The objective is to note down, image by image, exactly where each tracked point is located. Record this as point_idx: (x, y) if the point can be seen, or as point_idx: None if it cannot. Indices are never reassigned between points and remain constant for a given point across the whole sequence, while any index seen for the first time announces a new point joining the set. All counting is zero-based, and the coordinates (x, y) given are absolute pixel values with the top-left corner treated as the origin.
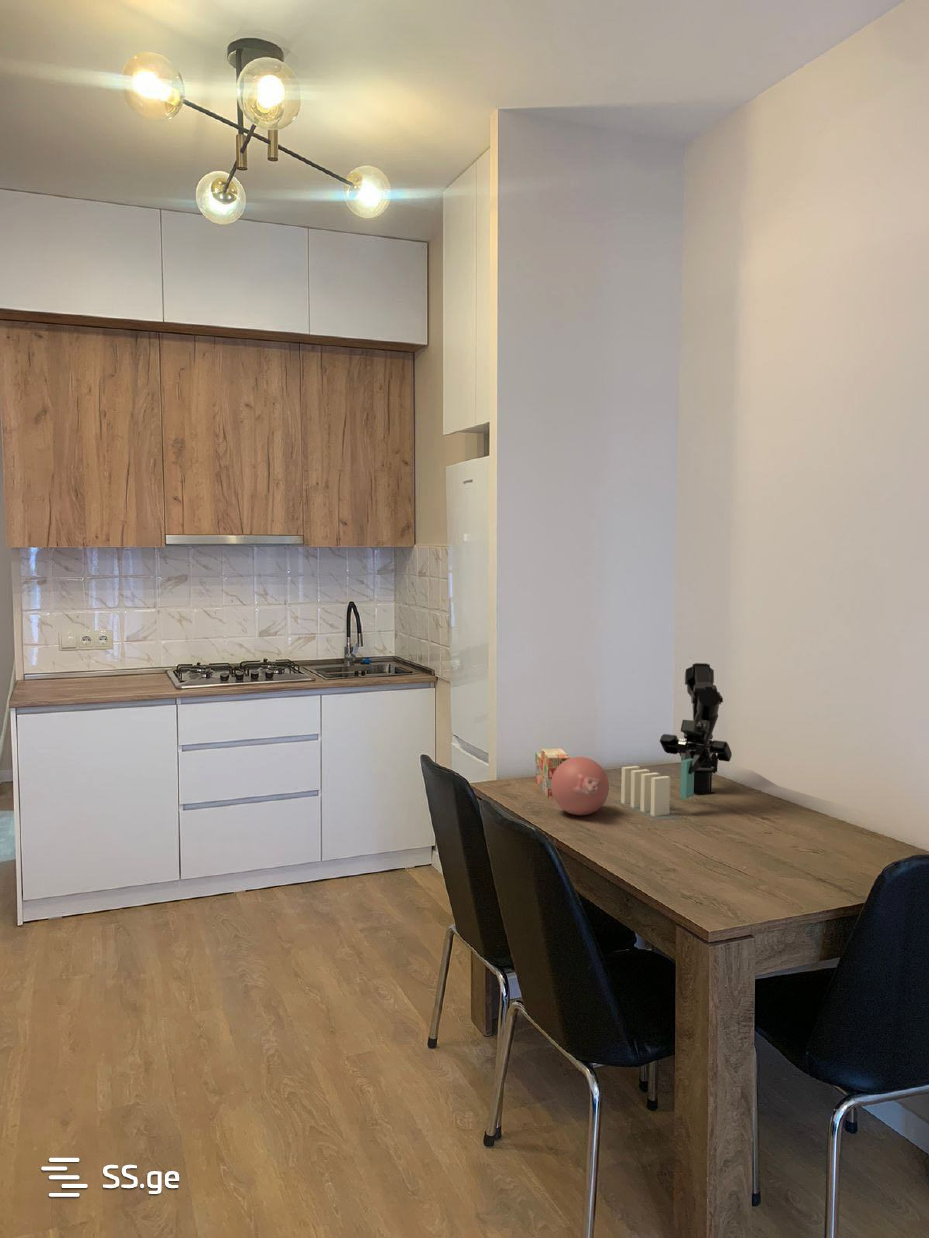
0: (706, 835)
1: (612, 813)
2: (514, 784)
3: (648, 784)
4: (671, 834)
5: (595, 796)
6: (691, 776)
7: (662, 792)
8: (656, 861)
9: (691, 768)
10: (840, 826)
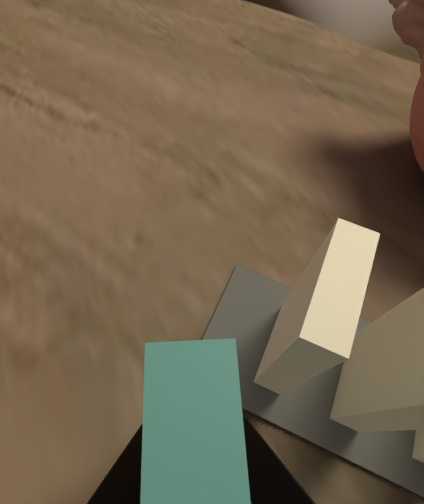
0: (24, 224)
1: (417, 254)
2: None
3: (413, 317)
4: (129, 171)
5: (419, 80)
6: None
7: (292, 310)
8: (82, 18)
9: (126, 452)
10: None
